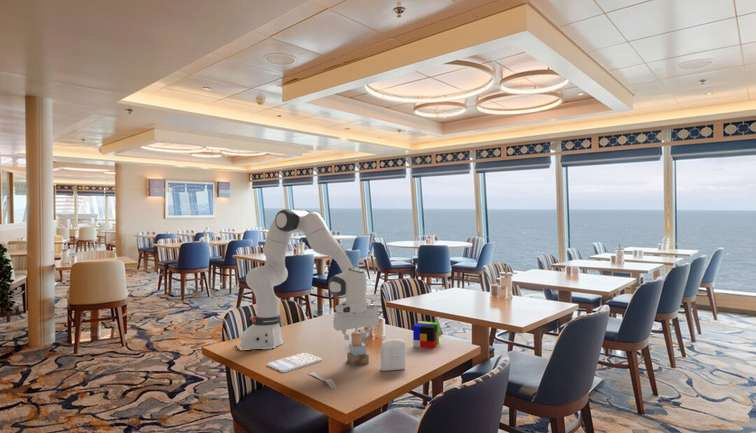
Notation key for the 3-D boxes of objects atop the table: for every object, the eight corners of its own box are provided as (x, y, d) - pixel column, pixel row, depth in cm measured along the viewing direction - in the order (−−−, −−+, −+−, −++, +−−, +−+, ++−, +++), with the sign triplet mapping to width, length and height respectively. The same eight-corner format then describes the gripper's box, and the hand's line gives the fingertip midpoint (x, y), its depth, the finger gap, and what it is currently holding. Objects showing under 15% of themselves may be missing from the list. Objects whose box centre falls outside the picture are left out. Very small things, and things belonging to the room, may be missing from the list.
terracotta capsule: (354, 346, 184) (354, 335, 184) (349, 344, 188) (349, 332, 188) (364, 345, 186) (363, 333, 186) (359, 342, 190) (359, 331, 190)
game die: (363, 350, 215) (374, 333, 218) (360, 349, 207) (372, 331, 210) (348, 340, 218) (359, 323, 220) (345, 339, 210) (357, 321, 212)
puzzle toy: (413, 346, 209) (413, 325, 209) (419, 341, 218) (419, 321, 218) (433, 349, 205) (433, 327, 205) (438, 343, 214) (438, 322, 214)
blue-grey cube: (354, 356, 184) (354, 346, 184) (349, 352, 189) (349, 343, 189) (366, 354, 187) (366, 344, 187) (361, 350, 192) (361, 341, 192)
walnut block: (353, 366, 183) (353, 357, 183) (347, 361, 189) (347, 352, 189) (368, 364, 186) (368, 354, 186) (362, 359, 192) (361, 350, 192)
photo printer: (403, 366, 182) (403, 336, 182) (406, 369, 178) (406, 339, 178) (379, 368, 180) (379, 338, 180) (382, 372, 176) (381, 341, 175)
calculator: (322, 362, 190) (322, 357, 190) (283, 374, 175) (283, 369, 175) (304, 355, 199) (304, 351, 199) (265, 366, 185) (265, 362, 185)
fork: (313, 378, 176) (312, 371, 177) (338, 389, 160) (338, 381, 160) (307, 380, 175) (306, 373, 175) (332, 391, 158) (331, 383, 158)
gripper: (375, 302, 194) (375, 333, 194) (331, 306, 185) (332, 339, 185) (381, 304, 189) (381, 336, 189) (337, 309, 180) (337, 343, 180)
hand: (356, 338), depth 187 cm, fingers open, 8 cm apart
